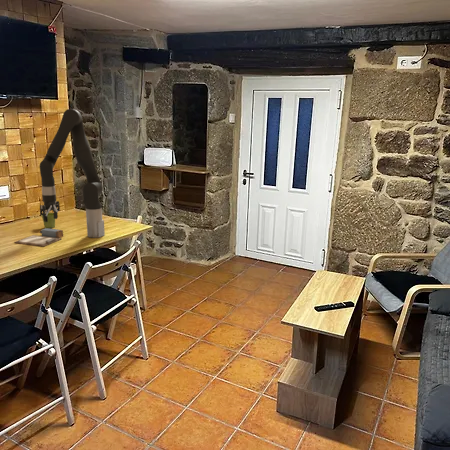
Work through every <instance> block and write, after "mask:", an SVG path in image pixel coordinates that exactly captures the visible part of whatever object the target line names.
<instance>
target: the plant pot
mask: <svg viewBox="0 0 450 450" xmlns="http://www.w3.org/2000/svg"><path fill="white" fill-rule="evenodd" d="M53 213H54V212H49V213H48V215H47V217H48V222H44V220H43V215H40V217H41V218H42V222H43V225H44V226H43V227H44V229H45V228H49V229H55V227H56V219H54V214H53ZM45 214H46V213H45Z"/></svg>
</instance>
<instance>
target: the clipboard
mask: <svg viewBox="0 0 450 450" xmlns="http://www.w3.org/2000/svg"><path fill="white" fill-rule="evenodd" d="M62 238H63V237H61V238H54V237H46V236H42V235H36V234H33V235H29V236H27V237H24V238H21V239H18V240H16V241H14V244H19V245H21V244H22V245H26V246H27V245H28V246H34V247H47V246H49V245H51V244H53V243H56V242H59V241H61V240H62Z"/></svg>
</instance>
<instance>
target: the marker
mask: <svg viewBox="0 0 450 450" xmlns="http://www.w3.org/2000/svg"><path fill="white" fill-rule="evenodd" d="M39 233H40V234H41V236H46V237H54V238H63V237H64V230H63V229H56V228H45V227H44V228H43V229H41V230H39Z"/></svg>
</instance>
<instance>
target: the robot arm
mask: <svg viewBox="0 0 450 450" xmlns="http://www.w3.org/2000/svg"><path fill="white" fill-rule="evenodd" d="M83 123H84V122H83V116H82V114H81V112H80V111H78V110H77V109H74V108H68V109H66V110H65V111H64V112H63V114H62V116H61V121H60V124H59V126H58V129H57V131H56V133H55V136H54V138H53V139H52V141H51V143H50V145H49V146H48V148H47V151H46V154H45V156H44V158H43V159H42V161H41V162H40V163H39V173H40V177H41V199H42V202H43V204H40V205H39V215H40V216H41V215H43V219H42V221H43V220H44V222H48V217H47V215H48V213H50V212H51V211H53V212H52V213H53V214H54V219H55V220H57V219H58V218H59V215H58V214H59V212H60V211H61V208H60V205H61V204H60V201H59V200H58V201H57V191H56V190H57V189H56V184H55V177H54V171H53V169H54V167H55V166H56V164H57V161H58V159H59V157H60V156H61V154H62V152H63V150H64V148H65V145H66V143H67V139H68V137H69V134H70V133H71V136H72V146H73V147H72V148H73V152H74V156H75V159H76V163H77V164H78V165H79V167H80V168H81V170H82V171H83V172H84V175H85V177H86V183H84V184H83V187H82V196H83V205H84V206H85V216H86V217H85V219H86V234H87V237H88V238H91V239H92V238H94V239H95V238H101V237H103V236H105V234H106V232H105V220H104V219H103V207H102V206H103V205H102V203H101V202H100V199H99V195H101V194H102V193H103V185H102V182H101V180H100V177H99V174H98V171H97V169H96V164H95V161H94V157H93V153H92V150H91V147H90V144H89V141H88V138H87V135H86V132H85V129H84V128H85V127H84V124H83ZM45 213H46V214H45ZM44 222H43V223H44Z"/></svg>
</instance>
